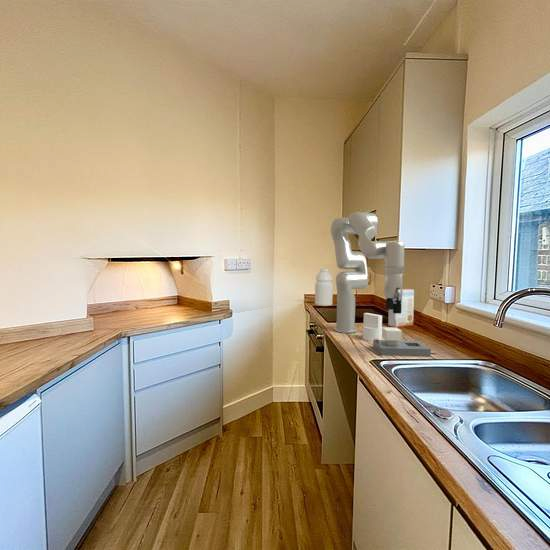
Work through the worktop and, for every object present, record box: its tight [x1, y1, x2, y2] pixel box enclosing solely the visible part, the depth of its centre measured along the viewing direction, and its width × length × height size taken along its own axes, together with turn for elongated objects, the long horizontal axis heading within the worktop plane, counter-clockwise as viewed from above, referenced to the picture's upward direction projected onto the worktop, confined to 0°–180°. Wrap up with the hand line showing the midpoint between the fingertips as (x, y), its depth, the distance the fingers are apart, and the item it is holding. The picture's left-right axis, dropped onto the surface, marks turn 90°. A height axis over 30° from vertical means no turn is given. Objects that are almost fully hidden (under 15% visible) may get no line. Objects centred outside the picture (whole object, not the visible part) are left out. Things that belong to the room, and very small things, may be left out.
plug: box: [382, 326, 403, 345], centre depth 144 cm, size 6×6×6 cm
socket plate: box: [372, 339, 432, 357], centre depth 145 cm, size 13×20×4 cm, turn 89°
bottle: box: [314, 268, 334, 307], centre depth 264 cm, size 14×14×28 cm
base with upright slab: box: [362, 312, 383, 342], centre depth 164 cm, size 9×9×12 cm
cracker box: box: [387, 288, 415, 328], centre depth 193 cm, size 14×6×21 cm, turn 115°
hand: (393, 311), depth 143 cm, fingers open, 9 cm apart
